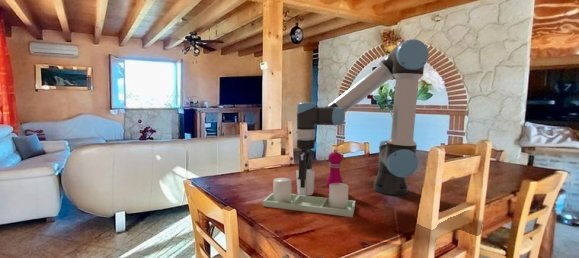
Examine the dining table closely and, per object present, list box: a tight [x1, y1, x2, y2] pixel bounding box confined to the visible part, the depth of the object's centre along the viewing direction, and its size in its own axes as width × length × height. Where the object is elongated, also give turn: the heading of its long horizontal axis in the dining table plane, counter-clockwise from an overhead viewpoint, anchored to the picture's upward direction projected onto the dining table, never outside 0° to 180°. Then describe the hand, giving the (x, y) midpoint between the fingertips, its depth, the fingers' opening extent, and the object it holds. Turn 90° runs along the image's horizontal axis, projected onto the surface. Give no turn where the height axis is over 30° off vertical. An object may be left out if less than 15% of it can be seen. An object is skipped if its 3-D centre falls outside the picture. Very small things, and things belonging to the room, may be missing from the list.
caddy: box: [262, 192, 356, 218], centre depth 118 cm, size 33×12×3 cm, turn 74°
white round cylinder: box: [328, 183, 349, 210], centre depth 115 cm, size 7×7×9 cm
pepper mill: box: [325, 148, 344, 194], centre depth 136 cm, size 7×7×20 cm
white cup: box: [295, 168, 316, 196], centre depth 134 cm, size 8×8×10 cm
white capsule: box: [272, 177, 293, 203], centre depth 121 cm, size 7×7×9 cm
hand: (305, 191), depth 134 cm, fingers closed on white cup, 8 cm apart
